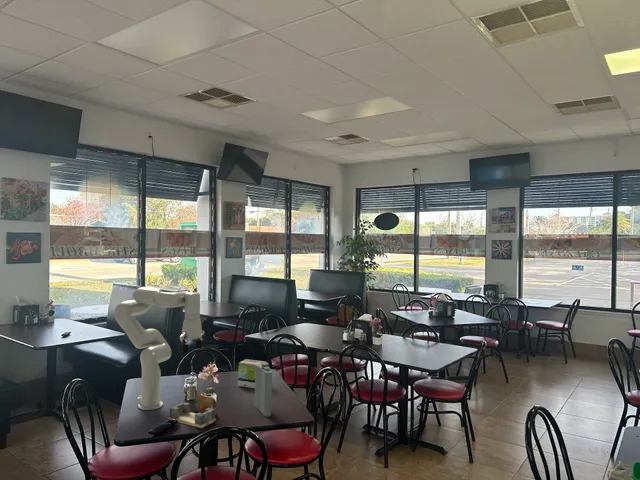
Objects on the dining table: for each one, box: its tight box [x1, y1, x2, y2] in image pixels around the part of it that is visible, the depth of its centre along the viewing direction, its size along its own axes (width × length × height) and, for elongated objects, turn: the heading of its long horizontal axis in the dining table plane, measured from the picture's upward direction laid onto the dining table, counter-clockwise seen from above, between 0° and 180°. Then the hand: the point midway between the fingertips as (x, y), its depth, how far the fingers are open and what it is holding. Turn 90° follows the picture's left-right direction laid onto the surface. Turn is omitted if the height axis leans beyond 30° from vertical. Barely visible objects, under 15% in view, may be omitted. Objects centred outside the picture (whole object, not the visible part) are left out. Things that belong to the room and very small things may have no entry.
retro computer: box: [237, 358, 268, 389], centre depth 291 cm, size 15×10×15 cm, turn 73°
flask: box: [254, 362, 273, 417], centre depth 250 cm, size 17×5×25 cm, turn 27°
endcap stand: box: [167, 401, 217, 429], centre depth 234 cm, size 10×21×6 cm, turn 64°
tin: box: [192, 394, 217, 414], centre depth 245 cm, size 15×3×8 cm, turn 56°
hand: (192, 350), depth 242 cm, fingers open, 9 cm apart
